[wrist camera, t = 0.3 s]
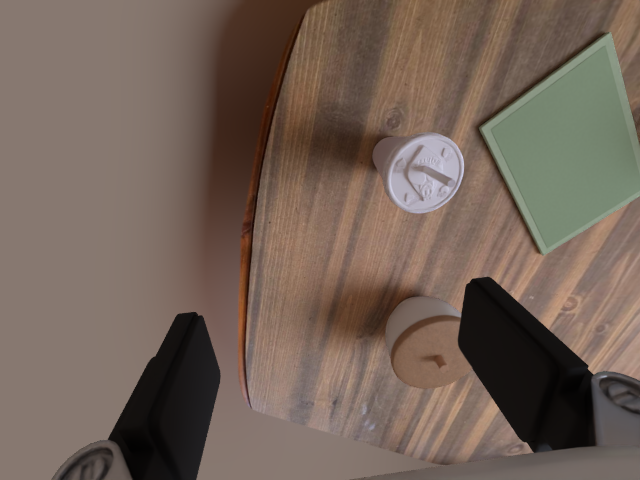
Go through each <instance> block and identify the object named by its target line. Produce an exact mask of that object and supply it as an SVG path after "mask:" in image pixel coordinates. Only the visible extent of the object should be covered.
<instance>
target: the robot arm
mask: <svg viewBox="0 0 640 480" xmlns="http://www.w3.org/2000/svg"><path fill="white" fill-rule="evenodd" d="M458 346H459V349H460V351H461V352H462V354H463V355H464V357H465V358H466V360H467V361H468V363H469V364H470V366H471V367H472V369H473V370H474V372H475V373H476V375H477V376H478V378H479V379H480V380H481V382H482V383H483V385H484V386H485V388H486V389H487V391H488V392H489V394H490V395H491V397H492V398H493V400H494V401H495V403H496V404H497V406H498V407H499V409H500V410H501V412H502V413H503V415H504V416H505V418H506V419H507V421H508V422H509V424H510V425H511V427H512V428H513V430H514V431H515V433H516V434H517V436H518V437H519V438H520V439H521V440H522V441H523V442H527V443H528V445H529V446H530V448H531V449H532V451H533V452H534V453H529V454H522V455H515V456H508V457H501V458H494V459H487V460H480V461H473V462H466V463H459V464H452V465H445V466H438V467H431V468H425V469H418V470H411V471H404V472H398V473H391V474H384V475H377V476H371V477H364V478H358V479H351V480H640V381H638V380H637V379H634V378H632V377H629V376H627V375H624V374H620V373H616V372H607V371H603V372H599V373H596V374H595V375H593V374H592V373H591V372H590V371H589V370H588V369H587V368H588V365H587V364H586V363H585V362H584V361H583V360H581V359H580V358H579V357H578V356H577V355H576V354H575V353H574V352H573V351H572V350H570V349H569V348H568V347H567V346H566V345H565V344H564V343H563V342H562V341H560V340H559V339H558V338H557V337H556V336H555V335H554V334H553V333H552V332H551V331H549V330H548V329H547V328H546V327H545V326H544V325H543V324H542V323H541V322H539V321H538V320H537V319H536V318H535V317H534V316H533V315H532V314H531V313H530V312H528V311H527V310H526V309H525V308H524V307H523V306H522V305H521V304H520V303H518V302H517V301H516V300H515V299H514V298H513V297H512V296H511V295H510V294H508V293H507V292H506V291H505V290H504V289H503V288H502V287H501V286H500V285H499V284H497V283H496V282H495V281H494V280H493V279H492V278H490V277H483V278H475V279H472V280H471V281H470V283H468V284H467V285H466V288H465V295H464V301H463V308H462V314H461V320H460V327H459V333H458ZM219 384H220V369H219V366H218V363H217V360H216V356H215V353H214V350H213V347H212V344H211V340H210V337H209V334H208V331H207V327H206V324H205V321H204V318H203V316H198V314H197V313H196V312H191V313H182V314H178V315H177V316H176V317H175V319H174V321H173V323H172V325H171V327H170V329H169V331H168V333H167V335H166V337H165V339H164V341H163V343H162V345H161V347H160V349H159V351H158V352H157V354H156V356H155V357H153V358H152V359H151V360H150V361H149V363H148V364H147V366H146V368H145V370H144V372H143V374H142V376H141V377H140V379H139V381H138V384H137V385H136V387H135V389H134V391H133V393H132V395H131V397H130V399H129V400H128V402H127V404H126V406H125V408H124V410H123V412H122V413H121V416H120V417H119V419H118V421H117V423H116V425H115V427H114V429H113V431H112V432H111V434H110V436H109V438H108V440H102V441H101V440H100V441H97V442H94V443H91V444H89V445H87V446H86V447H84V448H82V449H80V450H79V451H77V452H76V453H75V454H74V455H72V456H71V457H70V458H68V459H67V461H66V462H65V463H64V464H63V465H62V466H61V467H60V468H59V469H58V471H57V472H56V473H55V475H54V476H53V478H52V480H196V478H197V474H198V470H199V466H200V462H201V458H202V454H203V450H204V445H205V441H206V437H207V433H208V429H209V425H210V421H211V416H212V412H213V408H214V404H215V400H216V396H217V392H218V388H219Z"/></svg>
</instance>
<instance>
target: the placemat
mask: <svg viewBox="0 0 640 480" xmlns="http://www.w3.org/2000/svg"><path fill="white" fill-rule="evenodd" d="M479 130H480V132H481V134H482V136H483V138H484V140H485V142H486V144H487V146H488V148H489V150H490V152H491V154H492V156H493V158H494V160H495V162H496V164H497V166H498V168H499V171H500V173H501V175H502V177H503V179H504V181H505V183H506V185H507V187H508V189H509V191H510V193H511V195H512V197H513V199H514V201H515V203H516V205H517V207H518V209H519V211H520V213H521V215H522V217H523V219H524V221H525V223H526V225H527V227H528V229H529V231H530V233H531V235H532V237H533V239H534V241H535V243H536V245H537V247H538V249H539V251H540V253H541V255H543V256H544V255H545V254H547V253H549V252H550V251H552V250H554V249H555V248H557V247H558V246H560V245H562V244H563V243H565V242H566V241H568V240H570V239H571V238H573V237H575V236H576V235H578V234H579V233H581V232H583V231H584V230H586V229H587V228H589V227H591V226H592V225H594V224H596V223H597V222H599V221H600V220H602V219H604V218H605V217H607V216H608V215H610V214H612V213H613V212H615V211H617V210H618V209H620V208H621V207H623V206H625V205H626V204H628V203H629V202H631V201H633V200H634V199H636V198H637V197H639V196H640V145H639V141H638V137H637V133H636V129H635V125H634V121H633V117H632V113H631V109H630V105H629V101H628V97H627V94H626V90H625V86H624V82H623V78H622V74H621V70H620V66H619V62H618V58H617V54H616V50H615V46H614V42H613V39H612V35H611V32H607V33H605V34H604V35H602V36H601V37H600V38H598V39H597V40H596V41H594V42H593V43H592V44H590V45H589V46H588V47H586V48H585V49H584V50H582V51H581V52H580V53H578V54H577V55H576V56H574V57H573V58H572V59H570V60H569V61H567V62H566V63H565V64H563V65H562V66H561V67H559V68H558V69H557V70H555V71H554V72H553V73H551V74H550V75H549V76H547V77H546V78H545V79H543V80H542V81H541V82H539V83H538V84H537V85H535V86H534V87H532V88H531V89H530V90H528V91H527V92H526V93H524V94H523V95H522V96H520V97H519V98H518V99H516V100H515V101H514V102H512V103H511V104H510V105H508V106H507V107H506V108H504V109H503V110H502V111H500V112H499V113H497V114H496V115H495V116H493V117H492V118H491V119H489V120H488V121H487V122H485V123H484V124H483V125H481V126H480V127H479Z"/></svg>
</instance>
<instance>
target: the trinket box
mask: <svg viewBox="0 0 640 480" xmlns="http://www.w3.org/2000/svg"><path fill="white" fill-rule="evenodd" d="M460 320H461V313H460V312H459V311H458V310H457V309H456V308H454V307H453V306H452V305H450V304H449V303H447V302H445V301H443V300H441V299H438V298H435V297H429V296H417V297H411V298H408V299H405V300H404V301H402V302H401V303H399V304H398V305H397V307H396V308H395V309H394V310H393V312H392V313H391V315H390V317H389V319H388V321H387V325H386V331H385V337H386V346H387V350H388V353H389V356H390V359H391V364H392V367H393V370H394V372H395V374H396V376H397V377H398V378H399V379H400V380H401V381H402V382H404V383H406V384H408V385H409V386H413V387H416V388H426V389H428V388H437V387H442V386H445V385H448V384H450V383H453V382H455V381H457V380H459V379H460V378H462V377H463V376H464V375H466V374H467V373H468V372H469V371H470V370H471V369H472V367H471V366H470V364H469V363H468V361H467V360H466V358H465V357H464V355H463V354H462V352H461V351H460V349H459V346H458V333H459V327H460Z"/></svg>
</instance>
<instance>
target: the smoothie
mask: <svg viewBox="0 0 640 480" xmlns="http://www.w3.org/2000/svg"><path fill="white" fill-rule="evenodd" d="M372 158H373V162H374V165H375V166H376V168H377V170H378V172H379V174H380V176H381V177H382V179H383V186H384V189H385V193H386V194H387V196H388V197H389V199H390V200H391V201H392V202H393V203H394V204H395V205H397V206H398V207H400V208H401V209H403V210H405V211H408V212H412V213H425V212H430V211H433V210H435V209H437V208H439V207H441V206H442V205H444V204H445V203H446V202H448V201H449V200H450V199H451V198H452V196H453V195H454V194H455V193H456V191H457V189H458V188H459V186H460V183H461V181H462V178H463V173H464V161H463V157H462V154H461V151H460V150H459V148H458V147H457V145H456V144H455V143H454V142H453V141H452V140H450V139H449V138H447V137H445V136H442V135H440V134H437V133H431V132H424V133H417V134H414V135H412V136H406V137H386V138H384V139H382V140H380V141H379V142H378V143H377V144H376V146H375V148H374V150H373V154H372Z"/></svg>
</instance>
